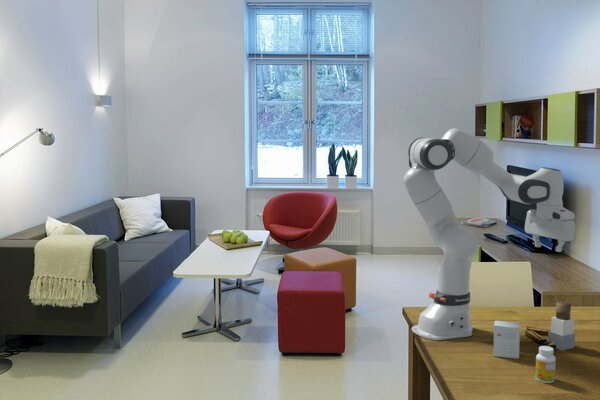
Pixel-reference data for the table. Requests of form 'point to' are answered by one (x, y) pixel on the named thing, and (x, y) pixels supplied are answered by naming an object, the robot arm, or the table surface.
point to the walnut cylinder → (563, 310)
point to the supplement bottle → (545, 365)
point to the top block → (562, 326)
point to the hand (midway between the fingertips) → (548, 249)
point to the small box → (506, 339)
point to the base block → (562, 340)
